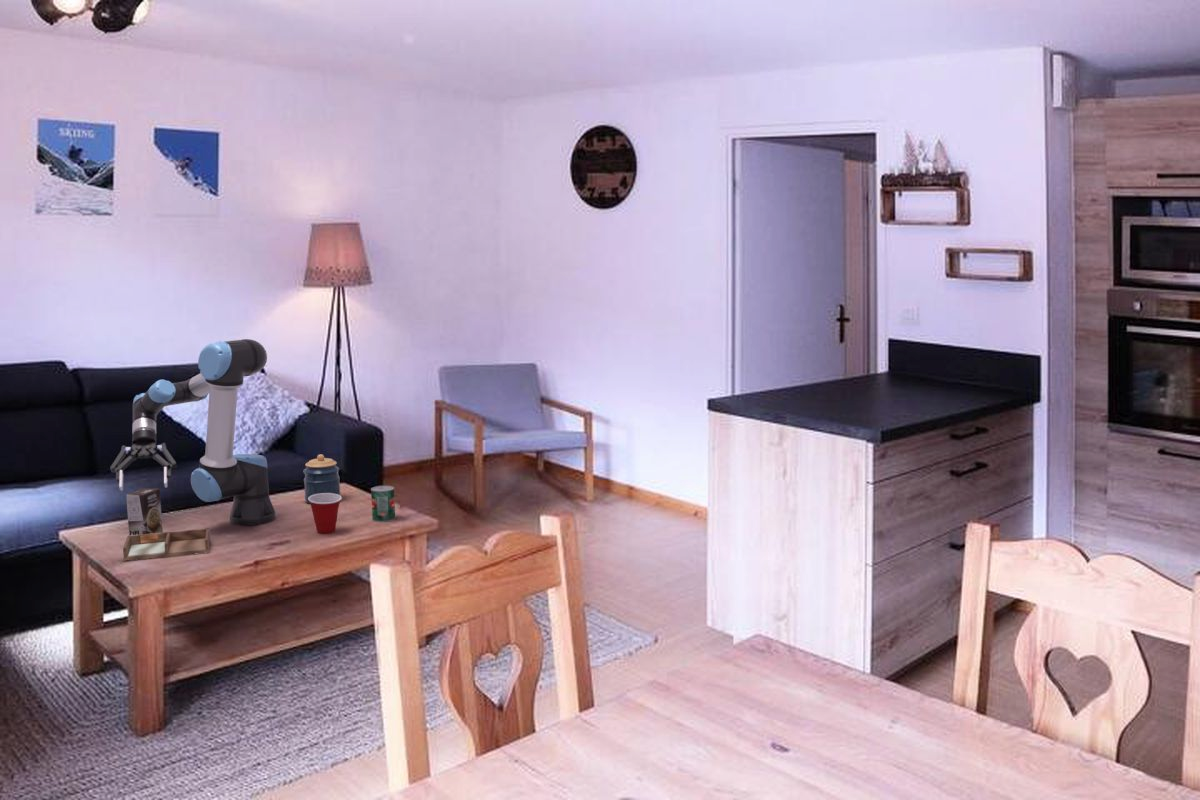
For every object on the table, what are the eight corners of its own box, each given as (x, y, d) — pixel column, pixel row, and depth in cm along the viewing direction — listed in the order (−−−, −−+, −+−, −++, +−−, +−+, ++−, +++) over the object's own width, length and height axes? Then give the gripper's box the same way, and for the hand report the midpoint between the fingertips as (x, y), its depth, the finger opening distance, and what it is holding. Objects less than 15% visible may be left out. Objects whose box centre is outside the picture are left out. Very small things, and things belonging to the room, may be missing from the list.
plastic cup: (321, 538, 331) (319, 502, 329) (303, 532, 338) (301, 497, 336) (349, 531, 339) (348, 496, 337) (331, 525, 346) (329, 491, 344)
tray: (209, 540, 329) (209, 528, 329) (208, 552, 316) (207, 539, 316) (128, 548, 321) (127, 535, 321) (124, 561, 308) (123, 548, 308)
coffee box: (146, 543, 326) (142, 495, 324) (128, 542, 327) (124, 494, 325) (164, 535, 335) (160, 488, 333) (146, 534, 336) (142, 487, 334)
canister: (321, 506, 370) (319, 459, 367) (297, 502, 377) (294, 455, 374) (348, 499, 381) (346, 453, 378) (324, 494, 388) (322, 449, 385)
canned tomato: (399, 519, 352) (398, 488, 351) (378, 523, 348) (376, 492, 346) (389, 514, 359) (388, 484, 357) (368, 518, 354) (367, 487, 352)
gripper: (184, 438, 356) (185, 489, 344) (106, 443, 348) (103, 496, 336) (182, 425, 350) (182, 478, 338) (102, 430, 342) (100, 484, 330)
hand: (143, 487), depth 337 cm, fingers open, 13 cm apart
